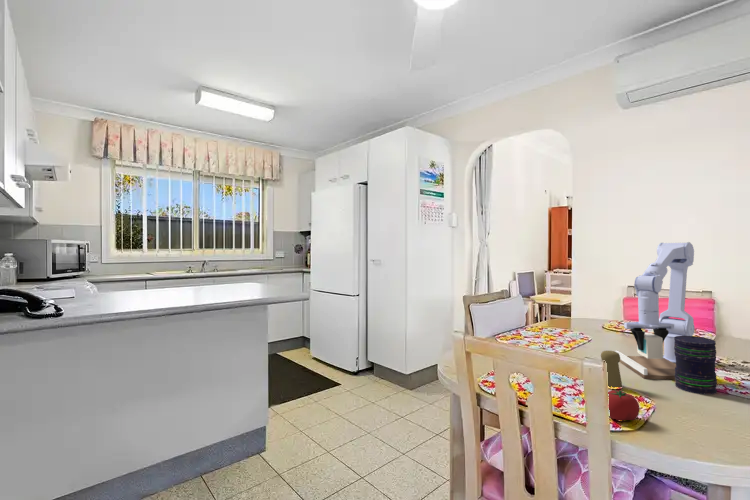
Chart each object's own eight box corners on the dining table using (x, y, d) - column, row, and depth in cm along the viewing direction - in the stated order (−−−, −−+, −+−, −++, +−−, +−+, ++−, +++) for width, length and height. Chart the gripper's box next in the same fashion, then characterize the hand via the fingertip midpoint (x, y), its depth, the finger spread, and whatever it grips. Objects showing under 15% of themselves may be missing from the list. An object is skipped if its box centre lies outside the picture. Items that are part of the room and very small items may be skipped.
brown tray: (661, 359, 143) (661, 351, 143) (699, 380, 122) (699, 370, 122) (614, 358, 146) (614, 350, 146) (644, 378, 125) (643, 369, 125)
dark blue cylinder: (720, 397, 109) (719, 345, 109) (677, 391, 114) (676, 341, 114) (713, 385, 117) (712, 337, 117) (672, 380, 122) (671, 334, 122)
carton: (651, 352, 134) (651, 333, 134) (663, 358, 127) (662, 337, 127) (637, 352, 134) (636, 332, 134) (647, 358, 128) (646, 337, 127)
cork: (619, 383, 121) (618, 349, 121) (625, 390, 115) (624, 354, 115) (598, 382, 123) (597, 348, 123) (602, 388, 117) (601, 353, 117)
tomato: (645, 422, 96) (645, 393, 95) (622, 428, 93) (622, 398, 93) (616, 409, 103) (615, 383, 103) (594, 414, 100) (593, 387, 100)
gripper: (630, 312, 128) (631, 352, 128) (679, 312, 125) (680, 353, 125) (621, 308, 135) (622, 347, 135) (667, 308, 132) (668, 347, 132)
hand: (649, 349), depth 131 cm, fingers closed on carton, 5 cm apart
